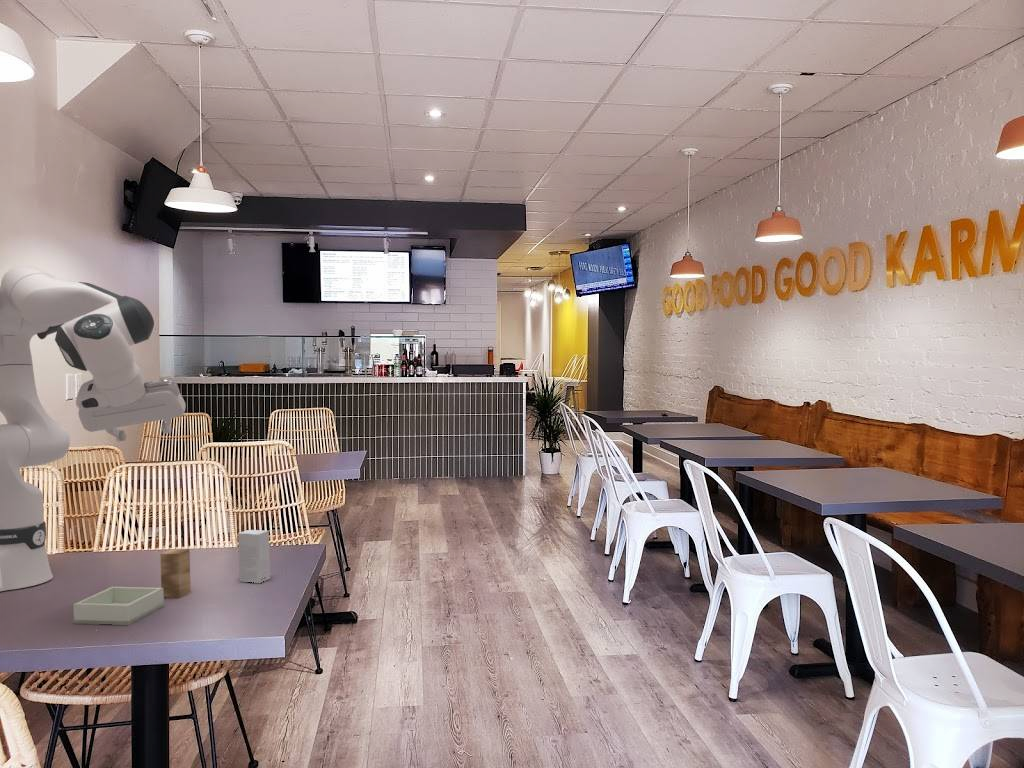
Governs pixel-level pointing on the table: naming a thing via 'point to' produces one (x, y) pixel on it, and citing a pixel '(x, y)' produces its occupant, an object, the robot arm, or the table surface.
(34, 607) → the table surface
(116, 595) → the bin
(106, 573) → the table surface
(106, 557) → the table surface
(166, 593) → the oak block
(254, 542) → the skincare box
